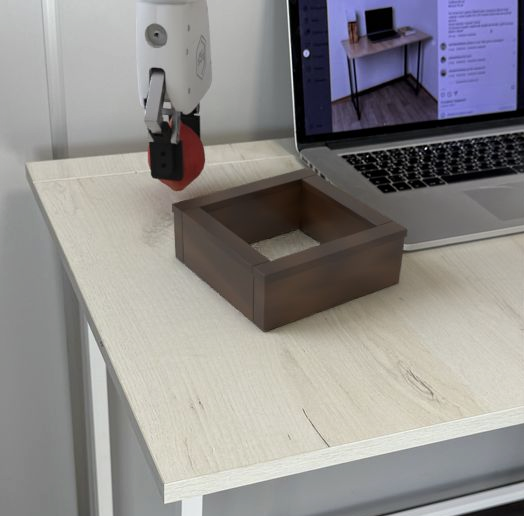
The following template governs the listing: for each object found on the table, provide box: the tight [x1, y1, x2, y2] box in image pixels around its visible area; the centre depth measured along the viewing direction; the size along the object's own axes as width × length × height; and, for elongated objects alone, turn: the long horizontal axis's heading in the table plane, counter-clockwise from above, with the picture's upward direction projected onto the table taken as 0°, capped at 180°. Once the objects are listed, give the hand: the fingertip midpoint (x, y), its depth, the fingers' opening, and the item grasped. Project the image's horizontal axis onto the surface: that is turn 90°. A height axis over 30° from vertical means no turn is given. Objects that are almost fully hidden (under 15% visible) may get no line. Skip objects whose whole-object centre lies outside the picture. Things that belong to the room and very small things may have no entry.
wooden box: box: [171, 167, 408, 333], centre depth 78 cm, size 15×15×5 cm
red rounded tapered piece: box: [147, 118, 206, 192], centre depth 89 cm, size 6×6×8 cm
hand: (176, 163), depth 89 cm, fingers closed on red rounded tapered piece, 6 cm apart
